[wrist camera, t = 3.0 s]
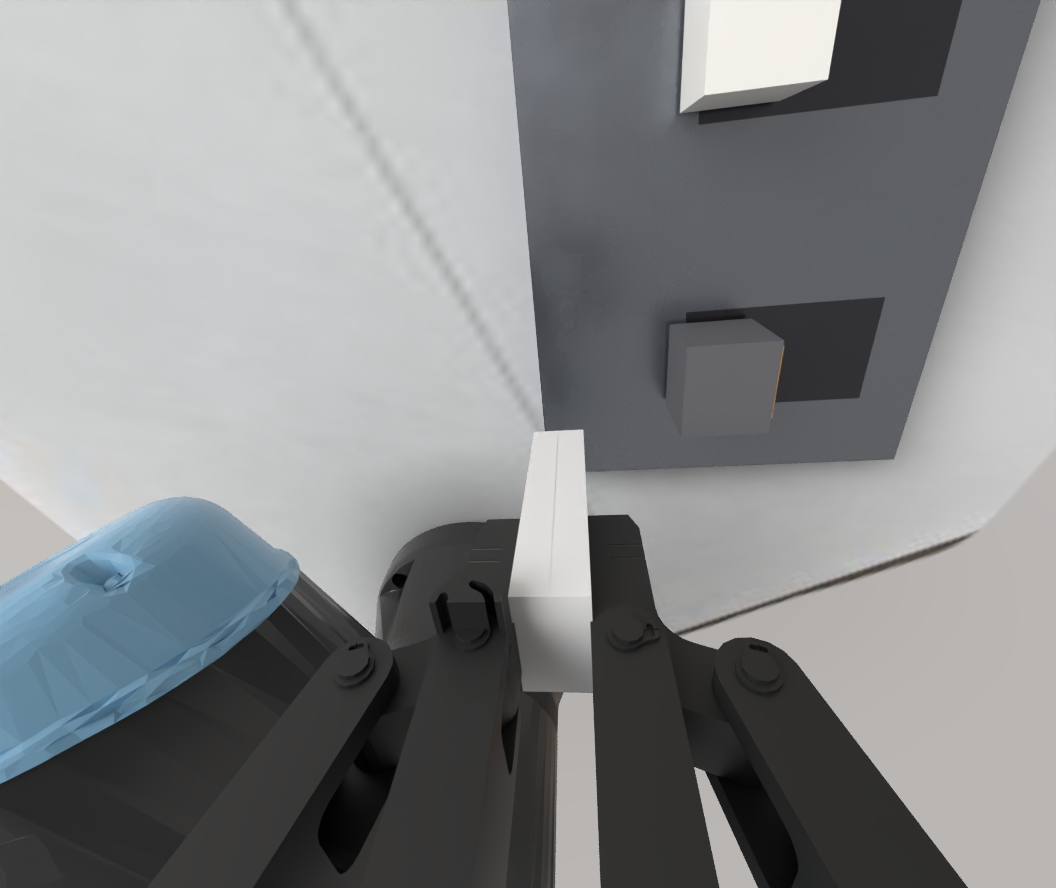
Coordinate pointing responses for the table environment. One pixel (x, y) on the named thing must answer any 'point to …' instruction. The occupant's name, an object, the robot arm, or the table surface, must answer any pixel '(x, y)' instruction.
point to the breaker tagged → (722, 377)
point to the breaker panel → (750, 217)
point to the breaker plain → (754, 50)
